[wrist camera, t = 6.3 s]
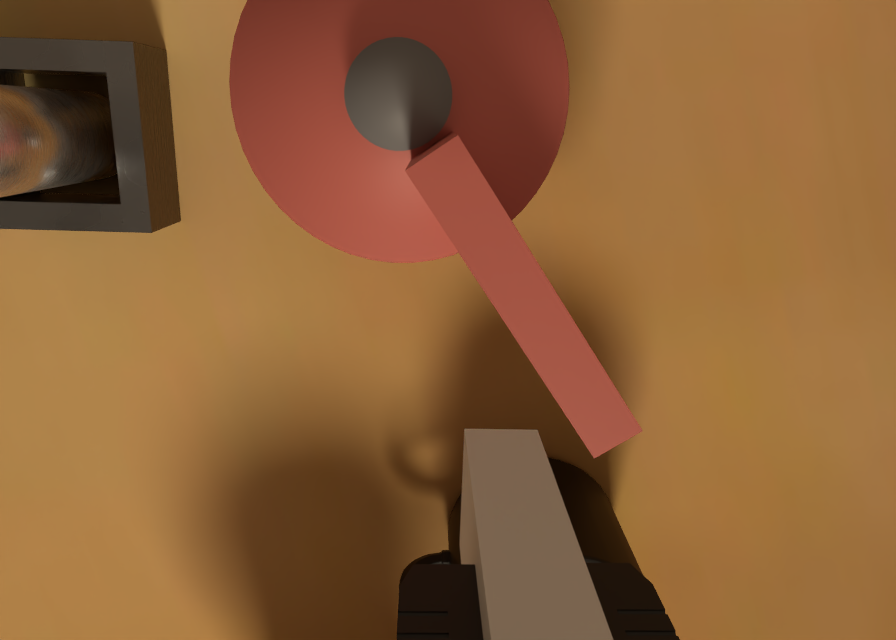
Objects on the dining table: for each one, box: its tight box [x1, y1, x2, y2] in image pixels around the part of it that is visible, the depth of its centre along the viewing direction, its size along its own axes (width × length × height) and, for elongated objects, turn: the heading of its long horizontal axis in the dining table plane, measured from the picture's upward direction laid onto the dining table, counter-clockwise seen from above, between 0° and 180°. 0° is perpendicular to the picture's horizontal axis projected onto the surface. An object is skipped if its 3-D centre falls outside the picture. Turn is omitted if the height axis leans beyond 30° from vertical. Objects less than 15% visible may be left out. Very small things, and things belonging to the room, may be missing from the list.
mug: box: [399, 458, 643, 586], centre depth 34 cm, size 9×12×9 cm
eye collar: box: [0, 37, 181, 233], centre depth 30 cm, size 8×8×4 cm
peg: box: [0, 85, 117, 197], centre depth 25 cm, size 4×4×13 cm
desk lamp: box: [230, 0, 642, 458], centre depth 23 cm, size 12×19×8 cm, turn 33°
